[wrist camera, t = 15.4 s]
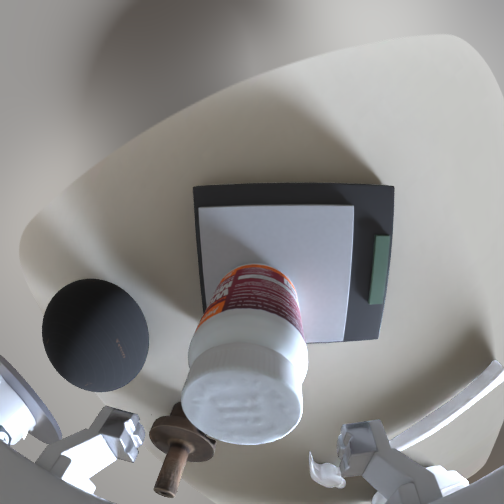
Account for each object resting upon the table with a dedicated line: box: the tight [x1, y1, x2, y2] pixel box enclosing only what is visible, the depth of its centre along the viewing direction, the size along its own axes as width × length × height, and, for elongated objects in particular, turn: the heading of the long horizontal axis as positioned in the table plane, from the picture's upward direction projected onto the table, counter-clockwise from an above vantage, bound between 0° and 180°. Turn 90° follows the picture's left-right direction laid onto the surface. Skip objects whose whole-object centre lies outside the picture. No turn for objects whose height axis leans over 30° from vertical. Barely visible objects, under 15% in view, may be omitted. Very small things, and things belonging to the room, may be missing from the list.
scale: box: [193, 183, 394, 344], centre depth 21 cm, size 15×13×3 cm
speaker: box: [42, 279, 149, 392], centre depth 20 cm, size 10×10×10 cm
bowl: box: [371, 466, 469, 504], centre depth 29 cm, size 22×22×8 cm
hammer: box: [309, 360, 504, 489], centre depth 26 cm, size 12×30×3 cm, turn 128°
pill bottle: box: [181, 263, 308, 445], centre depth 15 cm, size 6×6×11 cm
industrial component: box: [149, 402, 216, 498], centre depth 23 cm, size 9×7×12 cm
